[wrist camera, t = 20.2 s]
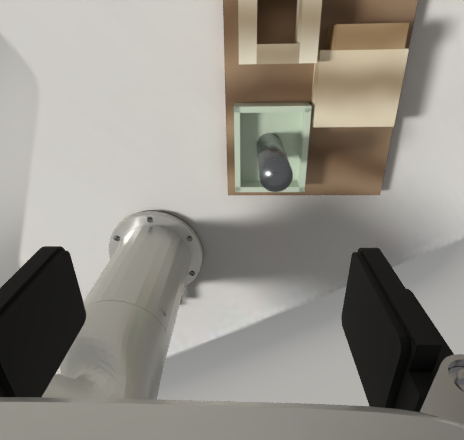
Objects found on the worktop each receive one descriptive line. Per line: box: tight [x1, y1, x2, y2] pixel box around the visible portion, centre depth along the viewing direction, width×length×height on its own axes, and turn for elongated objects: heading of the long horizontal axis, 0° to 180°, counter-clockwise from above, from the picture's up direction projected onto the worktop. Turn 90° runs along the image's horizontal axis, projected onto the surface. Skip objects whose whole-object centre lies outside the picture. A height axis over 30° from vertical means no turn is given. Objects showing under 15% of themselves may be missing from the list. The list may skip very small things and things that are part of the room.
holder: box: [238, 0, 322, 64], centre depth 31 cm, size 7×7×4 cm
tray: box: [234, 102, 312, 192], centre depth 37 cm, size 9×8×2 cm
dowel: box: [256, 133, 293, 192], centre depth 33 cm, size 3×3×10 cm
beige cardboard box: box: [310, 49, 409, 127], centre depth 34 cm, size 7×8×2 cm
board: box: [223, 0, 418, 195], centre depth 35 cm, size 22×18×6 cm
